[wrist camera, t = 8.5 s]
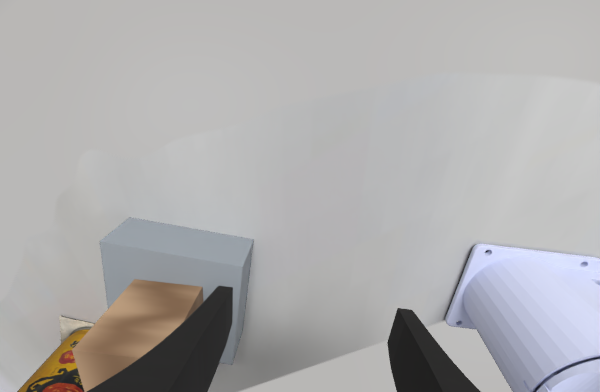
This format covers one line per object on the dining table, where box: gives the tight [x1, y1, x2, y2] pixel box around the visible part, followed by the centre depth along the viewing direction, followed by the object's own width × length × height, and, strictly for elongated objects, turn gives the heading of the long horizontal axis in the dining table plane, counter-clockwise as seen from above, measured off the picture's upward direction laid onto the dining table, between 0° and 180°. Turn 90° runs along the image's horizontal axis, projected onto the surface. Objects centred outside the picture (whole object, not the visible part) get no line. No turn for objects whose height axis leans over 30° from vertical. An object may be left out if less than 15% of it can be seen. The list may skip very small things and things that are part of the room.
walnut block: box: [72, 279, 203, 392], centre depth 20 cm, size 5×5×6 cm
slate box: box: [100, 217, 254, 365], centre depth 25 cm, size 10×10×4 cm
